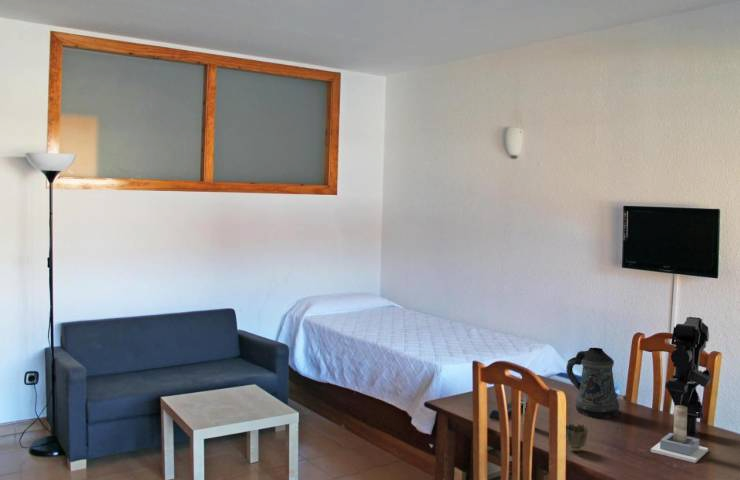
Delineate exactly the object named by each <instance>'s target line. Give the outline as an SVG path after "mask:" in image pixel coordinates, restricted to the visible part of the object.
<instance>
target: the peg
mask: <svg viewBox="0 0 740 480" xmlns="http://www.w3.org/2000/svg"><path fill="white" fill-rule="evenodd" d="M673 407H674V409H673V432H672V433H673V441H674V442H678V443H682V444H686V438H687V437H688V436H687V435H688V434H687V407H685V406H680V405H676V406H675V405H674V406H673Z"/></svg>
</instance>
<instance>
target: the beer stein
mask: <svg viewBox="0 0 740 480" xmlns="http://www.w3.org/2000/svg"><path fill="white" fill-rule="evenodd" d="M614 361H615V360H614V359H613V358H612V357H611V356H610V355H608V354H607V353H606V352H605V351H604V350H603V348H601V347H589V348H588V349H587V350H580V351H578V352H577V354H576V355H575V356H574V357H572V358H570V359H569V360H568V361H567V364H566V369H565V370H566V375H567V377H568V379H569V380H570V383H572V384H573V386H574V387H575V388H576V389H577V390H578V394H577V397H576V399H575V402H574V403H575V409H576V411H578V412H577V413H578V414H580V415H582V416H587V417H589V418H597V419H611V418H615V417H616V416H618V415H619V410H620V403H619V401H618V398H617V395H616V394H617V393H616V389H615V388H616V387H615V381H614V380H615V379H614V372H613V367H614V363H615V362H614ZM575 365H577V366H580V365H582V372H581V377H580V378H581V380H580V381H579V379H577V377H576V375H575V373H574V372H573V369H574V366H575Z"/></svg>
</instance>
